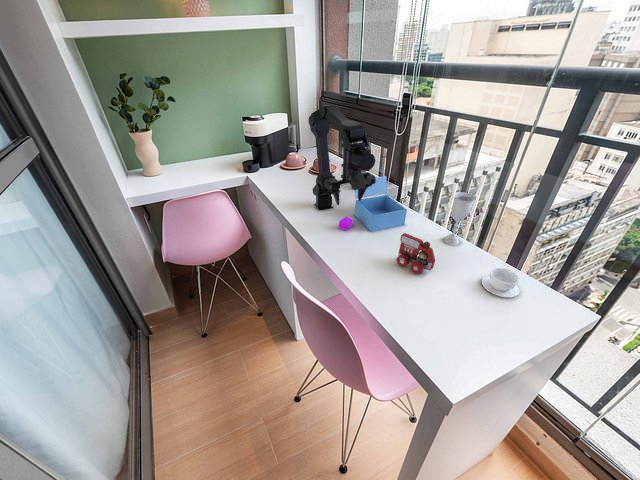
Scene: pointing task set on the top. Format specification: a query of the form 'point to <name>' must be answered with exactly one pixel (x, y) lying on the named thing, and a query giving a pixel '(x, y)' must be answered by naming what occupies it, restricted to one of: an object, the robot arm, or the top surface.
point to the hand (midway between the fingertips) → (348, 202)
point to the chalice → (460, 213)
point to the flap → (375, 188)
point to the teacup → (502, 282)
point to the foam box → (380, 212)
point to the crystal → (345, 223)
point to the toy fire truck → (415, 254)
